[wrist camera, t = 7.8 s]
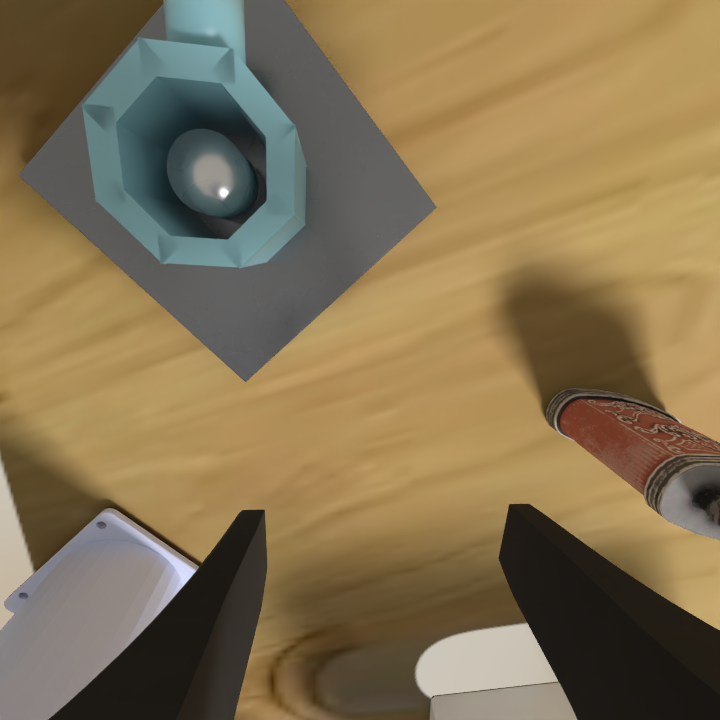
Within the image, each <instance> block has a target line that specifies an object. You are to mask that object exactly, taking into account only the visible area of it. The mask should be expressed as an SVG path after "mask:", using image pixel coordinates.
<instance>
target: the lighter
mask: <svg viewBox="0 0 720 720" xmlns="http://www.w3.org/2000/svg"><path fill="white" fill-rule="evenodd" d="M546 420H547V422H548V424H549V425H550V426H551V427H552V428H553V429H555V430H556V431H557V432H558V433H560V434H561V435H562V436H564V437H566V438H568V439H571V440H573V441H575V442H577V443H578V444H579V445H580V446H582V447H583V448H584V449H586V450H587V451H588V452H589V453H591V454H592V455H593V456H594V457H596V458H597V459H598V460H599V461H601V462H602V463H603V464H605V465H606V466H607V467H608V468H610V469H611V470H612V471H613V472H615V473H616V474H617V475H618V476H620V477H621V478H622V479H624V480H625V481H626V482H627V483H629V484H630V485H631V486H632V487H634V488H635V489H636V490H637V491H639V492H640V493H641V494H643V495H644V498H645V501H646V503H647V505H649V506H650V507H651V508H652V509H654V510H655V511H656V512H657V513H659V514H660V515H661V516H662V517H663V518H665V519H666V520H667V521H668V522H670V523H673V524H675V525H677V526H680V527H682V528H684V529H687V530H689V531H691V532H694V533H696V534H699V535H703V536H706V537H710V538H714V539H717V540H720V443H719V442H717V441H715V440H713V439H711V438H709V437H707V436H705V435H703V434H701V433H699V432H697V431H695V430H693V429H691V428H689V427H687V426H685V425H683V424H681V421H680V420H679V419H678V418H676V417H674V416H672V415H670V414H668V413H667V412H665V411H663V410H661V409H659V408H657V407H655V406H653V405H651V404H649V403H647V402H645V401H642V400H639V399H636V398H633V397H630V396H627V395H624V394H620V393H615V392H609V391H603V390H597V389H576V388H571V389H565V390H563V391H561V392H559V393H558V394H557V395H556V396H555V397H554V398H553V399H552V400H551V402H550V403H549V405H548V408H547V411H546Z"/></svg>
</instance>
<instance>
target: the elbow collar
mask: <svg viewBox="0 0 720 720" xmlns="http://www.w3.org/2000/svg"><path fill="white" fill-rule="evenodd" d="M163 2H164V14H165V27H166V39H167V41H163V40H154V39H145V38H141V37H140V38H138V40H137V41H136V43H135V44H134V45H133V46H132V47H131V48H130V50H129V51H128V52H127V53H126V54H125V56H124V57H123V58H122V59H121V60H120V61H119V63H118V64H117V65H116V66H115V67H114V68H113V70H112V71H111V72H110V73H109V74H108V76H107V77H106V78H105V79H104V80H103V81H102V83H101V84H100V85H99V86H98V87H97V88H96V90H95V91H94V92H93V93H92V94H91V96H90V97H89V98H88V99H87V100H86V101H85V103H84V104H82V106H81V107H82V109H83V115H84V122H85V129H86V136H87V143H88V150H89V157H90V164H91V171H92V178H93V185H94V192H95V200H96V202H98V203H99V204H100V205H101V206H102V207H104V208H105V209H106V210H107V211H108V212H109V213H110V214H111V215H112V216H113V217H114V218H115V219H116V220H117V221H118V222H119V223H120V224H121V225H122V226H123V227H124V228H126V229H127V230H128V231H129V232H130V233H131V234H132V235H133V236H134V237H135V238H136V239H137V240H138V241H139V242H140V243H141V244H142V245H143V246H144V247H145V248H147V249H148V250H149V251H150V252H151V253H152V254H153V255H154V256H155V257H156V258H157V259H158V260H159V261H160V263H162V264H168V263H171V264H188V265H205V266H222V267H238V268H244V267H248V266H253V265H257V264H261V263H266V262H268V261H269V260H270V259H271V258H272V257H273V256H274V255H275V254H276V253H277V252H278V251H279V250H280V249H281V248H282V247H283V246H284V245H285V244H286V243H287V242H288V241H289V240H290V239H291V238H292V237H293V236H294V235H295V234H296V233H297V232H299V231H300V230H301V229H302V228H303V227H304V226H305V225H306V224H305V211H306V167H307V165H306V161H305V158H304V154H303V151H302V147H301V144H300V140H299V137H298V133H297V130H296V127H295V124H293V123H292V122H291V121H290V120H289V118H288V117H287V116H286V115H285V113H284V112H283V111H282V110H281V108H280V107H279V106H278V105H277V103H276V102H275V101H274V100H273V98H272V97H271V96H270V95H269V93H268V92H267V91H266V90H265V88H264V87H263V86H262V85H261V84H260V82H259V81H258V80H257V79H256V77H255V76H254V75H253V74H252V72H251V71H250V70H249V69H248V67H247V66H246V53H245V16H244V0H163ZM193 129H209V130H213V131H216V132H218V133H220V134H222V135H232V136H243V137H254V138H258V139H259V141H260V142H261V143H262V144H263V145H264V146H265V148H266V173H267V201H266V202H265V203H264V204H263V205H262V206H261V207H260V208H259V209H258V210H257V211H256V212H255V213H254V214H253V215H252V216H251V217H250V218H249V219H248V220H247V221H246V222H245V223H244V224H243V225H242V226H241V227H240V228H239V229H238V230H237V231H236V232H235V233H234V234H233V235H232V236H231V237H230V238H229V239H228V240H225V239H219V238H218V237H217V236H216V235H215V234H214V233H213V232H212V231H211V230H210V229H209V228H208V227H207V226H206V225H205V224H204V223H203V221H202V220H201V219H200V218H199V217H198V216H197V215H196V214H195V213H194V212H193V211H192V210H191V209H190V207H188V206H187V205H186V204H184V203H183V202H182V201H181V200H180V199H179V197H178V196H177V195H176V193H175V192H174V190H173V188H172V187H171V184H170V182H169V178H168V174H167V157H168V153H169V150H170V148H171V146H172V144H173V143H174V142H175V140H176V139H177V138H178V137H179V136H181V135H182V134H183V133H185V132H187V131H190V130H193Z"/></svg>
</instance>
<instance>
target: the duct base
mask: <svg viewBox="0 0 720 720" xmlns="http://www.w3.org/2000/svg"><path fill="white" fill-rule="evenodd" d="M244 16H245V53H246V66H247V67H248V69H249V70H250V71H251V72H252V74H253V75H254V76H255V77H256V79H257V80H258V81H259V82H260V84H261V85H262V86H263V87H264V88H265V90H266V91H267V92H268V93H269V95H270V96H271V97H272V98H273V100H274V101H275V102H276V103H277V105H278V106H279V107H280V108H281V110H282V111H283V112H284V113H285V115H286V116H287V117H288V118H289V120H290V121H291V122H292V123H293V124H295V127H296V130H297V133H298V137H299V140H300V144H301V147H302V151H303V154H304V158H305V161H306V165H307V167H306V211H305V224H306V225H305V226H304V227H303V228H302V229H301V230H300V231H299V232H297V233H296V234H295V235H294V236H293V237H292V238H291V239H290V240H289V241H288V242H287V243H286V244H285V245H284V246H283V247H282V248H281V249H280V250H279V251H278V252H277V253H276V254H275V255H274V256H273V257H272V258H271V259H270V260H269V261H268V262H266V263H261V264H257V265H253V266H248V267H244V268H238V267H222V266H205V265H188V264H171V263H168V264H162V263H160V261H159V260H158V259H157V258H156V257H155V256H154V255H153V254H152V253H151V252H150V251H149V250H148V249H147V248H145V247H144V246H143V245H142V244H141V243H140V242H139V241H138V240H137V239H136V238H135V237H134V236H133V235H132V234H131V233H130V232H129V231H128V230H127V229H126V228H124V227H123V226H122V225H121V224H120V223H119V222H118V221H117V220H116V219H115V218H114V217H113V216H112V215H111V214H110V213H109V212H108V211H107V210H106V209H105V208H104V207H102V206H101V205H100V204H99V203H98V202H96V200H95V192H94V185H93V178H92V171H91V164H90V157H89V150H88V143H87V136H86V129H85V122H84V115H83V109H82V107H81V106H82V104H84V103H85V101H86V100H87V99H88V98H89V97H90V96H91V94H92V93H93V92H94V91H95V90H96V88H97V87H98V86H99V85H100V84H101V83H102V81H103V80H104V79H105V78H106V77H107V76H108V74H109V73H110V72H111V71H112V70H113V68H114V67H115V66H116V65H117V64H118V63H119V61H120V60H121V59H122V58H123V57H124V56H125V54H126V53H127V52H128V51H129V50H130V48H131V47H132V46H133V45H134V44H135V43H136V41H137V40H138V38H140V37H141V38H145V39H154V40H163V41H167V39H166V27H165V14H164V3H163V4H162V5H161V7H160V8H159V9H158V10H157V11H156V12H155V14H154V15H153V16H152V17H151V18H150V20H149V21H148V22H147V23H146V24H145V25H144V27H143V28H142V29H141V30H140V31H139V33H138V34H137V35H136V36H135V37H134V39H133V40H132V41H131V42H130V43H129V44H128V46H127V47H126V48H125V49H124V50H123V52H122V53H121V54H120V55H119V56H118V57H117V59H116V60H115V61H114V62H113V63H112V65H111V66H110V67H109V68H108V69H107V71H106V72H105V73H104V74H103V75H102V76H101V78H100V79H99V80H98V81H97V82H96V84H95V85H94V86H93V87H92V88H91V90H90V91H89V92H88V93H87V94H86V95H85V97H84V98H83V99H82V100H81V101H80V103H79V104H78V105H77V106H76V107H75V108H74V110H73V111H72V112H71V113H70V114H69V116H68V117H67V118H66V119H65V120H64V122H63V123H62V124H61V125H60V126H59V127H58V129H57V130H56V131H55V132H54V133H53V135H52V136H51V137H50V138H49V139H48V140H47V142H46V143H45V144H44V145H43V146H42V148H41V149H40V150H39V151H38V152H37V154H36V155H35V156H34V157H33V158H32V159H31V161H30V162H29V163H28V164H27V165H26V167H25V168H24V169H23V170H22V171H21V172H20V174H19V176H20V177H21V178H22V179H23V180H24V181H25V182H26V183H27V184H28V185H30V186H31V187H32V188H33V189H34V190H35V191H36V192H37V193H38V194H39V195H41V196H42V197H43V198H44V199H45V200H46V201H47V202H48V203H49V204H50V205H52V206H53V207H54V208H55V209H56V210H57V211H58V212H59V213H60V214H61V215H63V216H64V217H65V218H66V219H67V220H68V221H69V222H70V223H71V224H72V225H74V226H75V227H76V228H77V229H78V230H79V231H80V232H81V233H82V234H83V235H84V236H86V237H87V238H88V239H89V240H90V241H91V242H92V243H93V244H94V245H95V246H97V247H98V248H99V249H100V250H101V251H102V252H103V253H104V254H105V255H106V256H108V257H109V258H110V259H111V260H112V261H113V262H114V263H115V264H116V265H117V266H119V267H120V268H121V269H122V270H123V271H124V272H125V273H126V274H127V275H128V276H130V277H131V278H132V279H133V280H134V281H135V282H136V283H137V284H138V285H139V286H141V287H142V288H143V289H144V290H145V291H146V292H147V293H148V294H149V295H150V296H151V297H153V298H154V299H155V300H156V301H157V302H158V303H159V304H160V305H161V306H162V307H164V308H165V309H166V310H167V311H168V312H169V313H170V314H171V315H172V316H173V317H175V318H176V319H177V320H178V321H179V322H180V323H181V324H182V325H183V326H184V327H186V328H187V329H188V330H189V331H190V332H191V333H192V334H193V335H194V336H195V337H197V338H198V339H199V340H200V341H201V342H202V343H203V344H204V345H205V346H206V347H208V348H209V349H210V350H211V351H212V352H213V353H214V354H215V355H216V356H217V357H219V358H220V359H221V360H222V361H223V362H224V363H225V364H226V365H227V366H228V367H229V368H231V369H232V370H233V371H234V372H235V373H236V374H237V375H238V376H239V377H240V378H242V379H243V380H244V381H245V382H246V381H247V380H248V379H250V378H251V377H252V376H253V375H254V374H255V373H256V372H257V371H258V370H259V369H260V368H262V367H263V366H264V365H265V364H266V363H267V362H268V361H269V360H270V359H271V358H273V357H274V356H275V355H276V354H277V353H278V352H279V351H280V350H281V349H282V348H283V347H285V346H286V345H287V344H288V343H289V342H290V341H291V340H292V339H293V338H294V337H295V336H297V335H298V334H299V333H300V332H301V331H302V330H303V329H304V328H305V327H306V326H308V325H309V324H310V323H311V322H312V321H313V320H314V319H315V318H316V317H317V316H318V315H320V314H321V313H322V312H323V311H324V310H325V309H326V308H327V307H328V306H329V305H331V304H332V303H333V302H334V301H335V300H336V299H337V298H338V297H339V296H340V295H341V294H343V293H344V292H345V291H346V290H347V289H348V288H349V287H350V286H351V285H352V284H353V283H355V282H356V281H357V280H358V279H359V278H360V277H361V276H362V275H363V274H364V273H366V272H367V271H368V270H369V269H370V268H371V267H372V266H373V265H374V264H375V263H376V262H378V261H379V260H380V259H381V258H382V257H383V256H384V255H385V254H386V253H387V252H388V251H390V250H391V249H392V248H393V247H394V246H395V245H396V244H397V243H398V242H399V241H401V240H402V239H403V238H404V237H405V236H406V235H407V234H408V233H409V232H410V231H411V230H413V229H414V228H415V227H416V226H417V225H418V224H419V223H420V222H421V221H422V220H423V219H425V218H426V217H427V216H428V215H429V214H430V213H431V212H432V211H433V210H434V209H436V208H437V207H436V206H435V204H434V203H433V202H432V200H431V199H430V198H429V196H428V195H427V194H426V192H425V191H424V189H423V188H422V187H421V185H420V184H419V183H418V181H417V180H416V179H415V177H414V176H413V175H412V173H411V172H410V170H409V169H408V168H407V166H406V165H405V164H404V162H403V161H402V160H401V158H400V157H399V156H398V154H397V153H396V151H395V150H394V149H393V147H392V146H391V145H390V143H389V142H388V141H387V139H386V138H385V136H384V135H383V134H382V132H381V131H380V130H379V128H378V127H377V126H376V124H375V123H374V122H373V120H372V119H371V117H370V116H369V115H368V113H367V112H366V111H365V109H364V108H363V107H362V105H361V104H360V102H359V101H358V100H357V98H356V97H355V96H354V94H353V93H352V92H351V90H350V89H349V88H348V86H347V85H346V83H345V82H344V81H343V79H342V78H341V77H340V75H339V74H338V73H337V71H336V70H335V69H334V67H333V66H332V64H331V63H330V62H329V60H328V59H327V58H326V56H325V55H324V54H323V52H322V51H321V49H320V48H319V47H318V45H317V44H316V43H315V41H314V40H313V39H312V37H311V36H310V35H309V33H308V32H307V30H306V29H305V28H304V26H303V25H302V24H301V22H300V21H299V20H298V18H297V17H296V15H295V14H294V13H293V11H292V10H291V9H290V7H289V6H288V5H287V3H286V2H285V1H284V0H244ZM167 174H168V178H169V182H170V184H171V187H172V188H173V190H174V192H175V193H176V195H177V196H178V197H179V199H180V200H181V201H182V202H183V203H184V204H186V205H187V206H188V207H190V209H191V210H192V211H193V212H194V213H195V214H196V215H197V216H198V217H199V218H200V219H201V220H202V221H203V223H204V224H205V225H206V226H207V227H208V228H209V229H210V230H211V231H212V232H213V233H214V234H215V235H216V236H217V237H218V238H219V239H225V240H228V239H229V238H230V237H231V236H232V235H233V234H234V233H235V232H236V231H237V230H238V229H239V228H240V227H241V226H242V225H243V224H244V223H245V222H246V221H247V220H248V219H249V218H250V217H251V216H252V215H253V214H254V213H255V212H256V211H257V210H258V209H259V208H260V207H261V206H262V205H263V204H264V203H265V202H266V201H267V173H266V148H265V146H264V145H263V144H262V143H261V142H260V141H259V139H258V138H254V137H243V136H232V135H222V134H220V133H218V132H216V131H213V130H209V129H193V130H190V131H187V132H185V133H183V134H182V135H181V136H179V137H178V138H177V139H176V140H175V142H174V143H173V144H172V146H171V148H170V150H169V153H168V157H167Z"/></svg>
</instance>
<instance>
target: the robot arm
mask: <svg viewBox="0 0 720 720" xmlns="http://www.w3.org/2000/svg"><path fill="white" fill-rule="evenodd" d="M102 522H104V523H105V524H104V523H102ZM499 561H500V563H501V566H502V569H503V571H504V574H505V576H506V579H507V581H508V584H509V586H510V589H511V591H512V594H513V596H514V598H515V600H516V602H517V604H518V606H519V608H520V610H521V611H522V613H523V615H524V617H525V619H526V621H527V623H528V625H529V627H530V628H531V630H532V632H533V634H534V636H535V638H536V639H537V642H538V643H539V645H540V647H541V649H542V651H543V653H544V655H545V657H546V658H547V660H548V662H549V664H550V666H551V668H552V670H553V671H554V673H555V675H556V677H557V679H558V681H559V683H560V685H561V687H562V689H563V691H564V693H565V695H566V697H567V699H568V701H569V703H570V705H571V707H572V709H573V711H574V713H575V716H576V718H577V720H720V630H718V629H716V628H714V627H712V626H711V625H709V624H707V623H705V622H704V621H702V620H700V619H699V618H697V617H695V616H694V615H692V614H690V613H689V612H687V611H685V610H684V609H682V608H680V607H678V606H677V605H675V604H673V603H672V602H670V601H669V600H667V599H665V598H664V597H662V596H661V595H659V594H657V593H656V592H654V591H653V590H651V589H650V588H648V587H647V586H645V585H644V584H642V583H641V582H639V581H637V580H636V579H634V578H633V577H631V576H630V575H628V574H627V573H625V572H624V571H622V570H621V569H620V568H618V567H617V566H615V565H614V564H612V563H611V562H609V561H608V560H607V559H605V558H604V557H602V556H601V555H600V554H598V553H597V552H595V551H594V550H593V549H591V548H590V547H588V546H587V545H586V544H584V543H583V542H581V541H580V540H579V539H577V538H576V537H575V536H573V535H572V534H571V533H569V532H568V531H566V530H565V529H564V528H562V527H561V526H560V525H558V524H557V523H556V522H554V521H553V520H551V519H550V518H549V517H547V516H546V515H544V514H543V513H542V512H540V511H539V510H537V509H536V508H534V507H533V506H531V505H530V504H509V509H508V514H507V519H506V524H505V529H504V534H503V539H502V544H501V549H500V554H499ZM266 572H267V550H266V528H265V510H242V511H241V512H240V513H239V514H238V515H237V517H236V518H235V520H234V521H233V523H232V524H231V526H230V527H229V528H228V530H227V531H226V533H225V534H224V535H223V537H222V538H221V539H220V541H219V542H218V543H217V545H216V546H215V547H214V549H213V550H212V551H211V553H210V554H209V555H208V556H207V558H206V559H205V560H204V562H203V563H202V564H201V565H200V567H199V566H197V565H196V564H194V563H193V562H191V561H190V560H188V559H187V558H186V557H184V556H183V555H181V554H180V553H178V552H177V551H175V550H174V549H172V548H171V547H170V546H168V545H167V544H165V543H164V542H162V541H161V540H159V539H158V538H156V537H155V536H154V535H152V534H151V533H149V532H148V531H146V530H145V529H143V528H142V527H140V526H139V525H137V524H136V523H135V522H133V521H132V520H130V519H129V518H127V517H126V516H124V515H123V514H121V513H120V512H119V511H117V510H115V509H112V508H107V509H104V510H103V511H102V512H101V513H100V514H99V515H97V516H96V517H95V518H94V519H93V520H92V521H91V522H90V523H89V524H88V525H86V526H85V527H84V528H83V529H82V530H81V531H80V532H79V533H78V534H77V535H76V536H74V537H73V538H72V539H71V540H70V541H69V542H68V543H67V544H66V545H65V546H64V547H62V548H61V549H60V550H59V551H58V552H57V553H56V554H55V555H54V556H53V557H52V558H50V559H49V560H48V561H47V562H46V563H45V564H44V565H43V566H42V567H41V568H40V569H38V570H37V571H36V572H35V573H34V574H33V575H32V576H31V577H30V578H29V579H27V580H26V582H24V583H23V584H22V585H21V586H20V587H19V588H18V589H17V590H16V591H14V593H12V594H11V595H10V596H9V597H8V598H7V599H6V601H5V602H4V606H5V607H6V609H8V610H9V611H11V612H14V613H15V614H14V616H13V617H12V618H11V619H10V620H9V621H8V622H7V624H6V625H5V626H4V627H3V628H2V629H1V630H0V720H234V716H235V712H236V707H237V703H238V699H239V695H240V691H241V687H242V683H243V679H244V675H245V671H246V667H247V663H248V659H249V655H250V651H251V647H252V643H253V639H254V635H255V631H256V627H257V623H258V619H259V615H260V611H261V606H262V600H263V593H264V586H265V579H266Z"/></svg>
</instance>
